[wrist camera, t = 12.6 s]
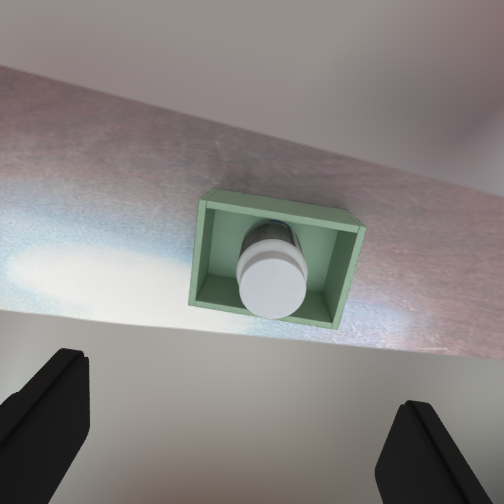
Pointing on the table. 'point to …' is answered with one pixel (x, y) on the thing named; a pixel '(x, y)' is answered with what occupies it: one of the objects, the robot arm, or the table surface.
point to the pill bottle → (271, 270)
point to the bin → (311, 240)
